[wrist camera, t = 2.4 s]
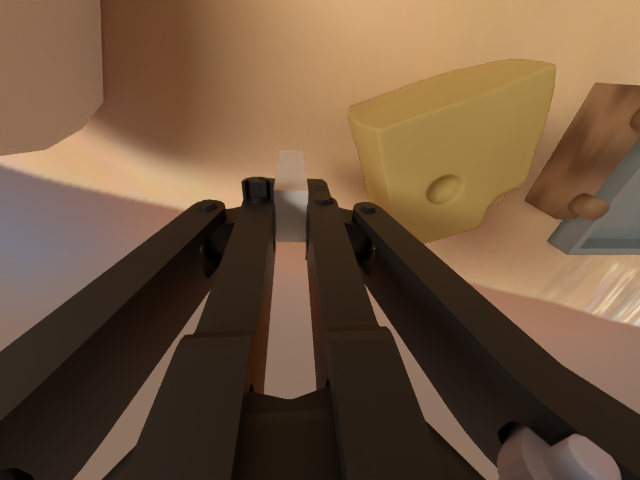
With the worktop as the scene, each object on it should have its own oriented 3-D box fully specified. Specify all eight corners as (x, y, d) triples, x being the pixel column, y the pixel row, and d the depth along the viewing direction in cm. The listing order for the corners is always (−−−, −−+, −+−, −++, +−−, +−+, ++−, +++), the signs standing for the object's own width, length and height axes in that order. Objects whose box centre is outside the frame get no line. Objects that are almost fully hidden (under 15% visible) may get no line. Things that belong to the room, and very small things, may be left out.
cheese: (457, 172, 27) (528, 218, 19) (362, 202, 28) (390, 258, 20) (461, 59, 21) (568, 56, 13) (339, 103, 22) (366, 126, 14)
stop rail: (595, 82, 23) (684, 88, 18) (617, 84, 23) (712, 90, 18) (524, 200, 30) (573, 229, 24) (542, 200, 30) (594, 229, 25)
